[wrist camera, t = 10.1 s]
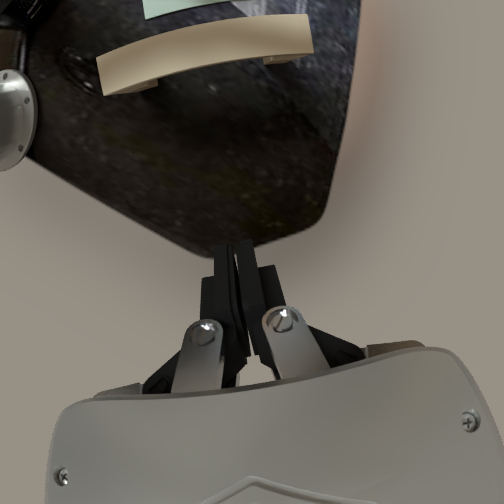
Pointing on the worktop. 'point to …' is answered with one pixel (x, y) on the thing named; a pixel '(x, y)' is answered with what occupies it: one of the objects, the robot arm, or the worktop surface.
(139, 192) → the worktop surface
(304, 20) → the bridge
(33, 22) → the supplement bottle
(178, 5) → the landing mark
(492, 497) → the robot arm
